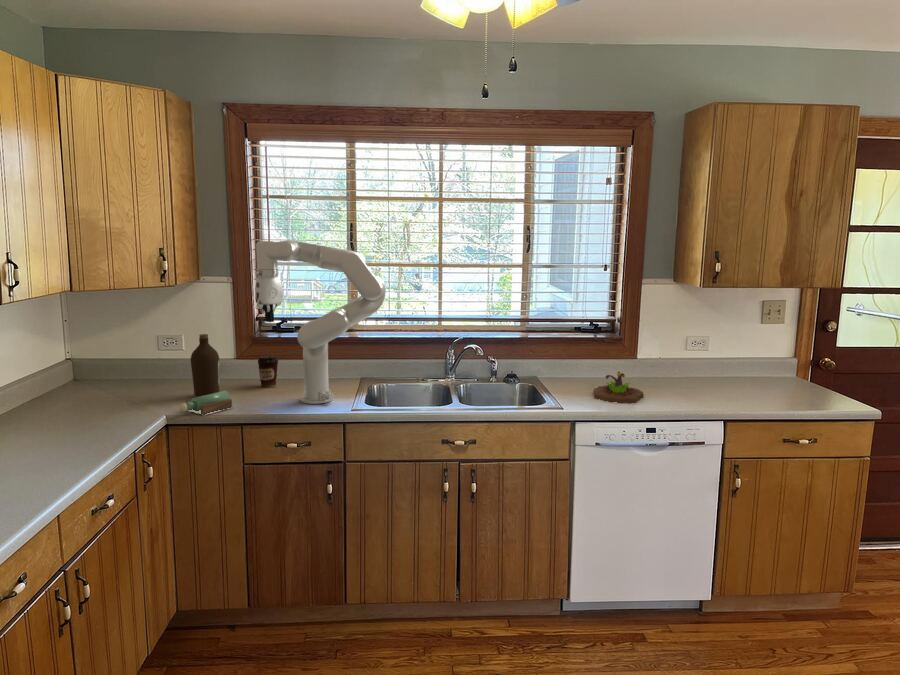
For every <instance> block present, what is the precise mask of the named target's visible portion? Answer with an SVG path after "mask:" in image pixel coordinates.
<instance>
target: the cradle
mask: <svg viewBox="0 0 900 675" xmlns="http://www.w3.org/2000/svg"><path fill="white" fill-rule="evenodd" d="M191 400H192V399H190V400H185V401H184V403H188V402H191ZM231 407H232V408H233V400H232V398H230V399H226V400H222V401H218V402H214V403H210V404H206V405H202V406H201V414H203V415H205V414H207V413H210V412H214V411H218V410H223V409H227V408H231Z"/></svg>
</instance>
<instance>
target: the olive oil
mask: <svg viewBox="0 0 900 675" xmlns="http://www.w3.org/2000/svg"><path fill="white" fill-rule="evenodd" d="M198 341H199V344H198V346H196V348H195V349H194V350H193V351H192V353H191V355H190V367H191V374H192V385H193V395H195V396H196V397H200V396H204V395H208V394H212V393H217V392H221V390H220V356H219V353H218V351H217V350H216V349H215V348H214V347H213V346H211V344H209V335H208V334H206V333H201V334H199V338H198ZM195 396H194V397H195Z"/></svg>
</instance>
